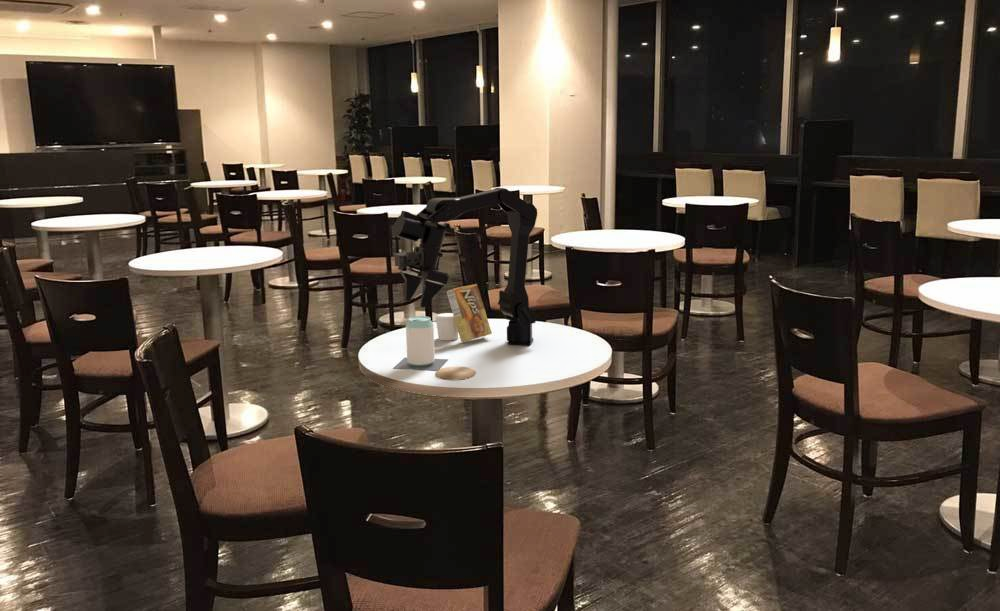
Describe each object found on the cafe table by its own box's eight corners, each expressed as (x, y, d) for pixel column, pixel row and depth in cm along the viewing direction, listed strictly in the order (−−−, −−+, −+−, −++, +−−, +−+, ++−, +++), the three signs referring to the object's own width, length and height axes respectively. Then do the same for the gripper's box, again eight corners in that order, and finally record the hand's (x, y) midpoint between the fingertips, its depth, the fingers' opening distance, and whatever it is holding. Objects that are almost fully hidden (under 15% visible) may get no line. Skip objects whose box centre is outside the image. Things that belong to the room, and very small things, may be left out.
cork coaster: (479, 368, 208) (479, 367, 208) (470, 380, 198) (470, 379, 198) (441, 367, 210) (441, 365, 210) (430, 378, 200) (430, 377, 200)
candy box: (484, 336, 239) (468, 286, 240) (492, 333, 236) (477, 282, 237) (460, 343, 233) (445, 291, 234) (469, 339, 230) (453, 287, 231)
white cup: (457, 340, 234) (455, 316, 233) (433, 340, 235) (432, 317, 234) (462, 335, 241) (461, 312, 239) (439, 335, 242) (438, 312, 241)
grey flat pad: (448, 359, 216) (448, 359, 216) (438, 370, 207) (438, 369, 207) (404, 357, 219) (404, 357, 219) (392, 368, 209) (392, 367, 209)
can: (433, 367, 209) (431, 321, 207) (405, 367, 209) (403, 321, 207) (436, 359, 216) (434, 315, 213) (409, 359, 216) (407, 315, 214)
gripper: (388, 234, 216) (373, 291, 217) (418, 242, 200) (402, 304, 201) (425, 244, 222) (410, 300, 223) (457, 253, 206) (441, 313, 207)
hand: (414, 303), depth 213 cm, fingers open, 9 cm apart
